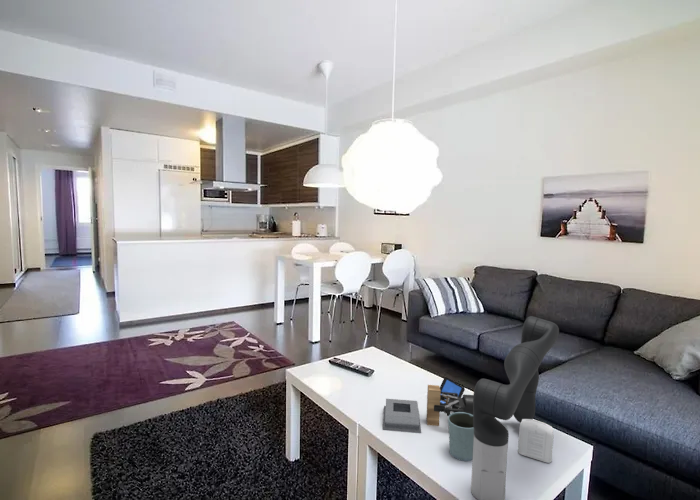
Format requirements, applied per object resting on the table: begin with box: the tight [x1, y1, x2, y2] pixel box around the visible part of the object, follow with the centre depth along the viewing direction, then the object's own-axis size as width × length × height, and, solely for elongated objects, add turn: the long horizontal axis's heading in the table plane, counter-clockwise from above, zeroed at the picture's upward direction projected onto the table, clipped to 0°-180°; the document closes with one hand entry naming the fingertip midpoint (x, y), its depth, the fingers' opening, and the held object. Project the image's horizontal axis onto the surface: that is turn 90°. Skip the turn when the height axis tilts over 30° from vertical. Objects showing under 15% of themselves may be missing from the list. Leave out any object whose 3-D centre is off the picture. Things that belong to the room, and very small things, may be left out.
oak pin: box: [425, 384, 441, 427], centre depth 144 cm, size 4×4×14 cm
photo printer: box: [517, 419, 555, 464], centre depth 125 cm, size 10×4×12 cm, turn 60°
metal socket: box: [382, 398, 422, 434], centre depth 146 cm, size 16×14×5 cm
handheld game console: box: [439, 376, 466, 407], centre depth 163 cm, size 12×11×7 cm
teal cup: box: [447, 412, 474, 462], centre depth 126 cm, size 10×10×12 cm
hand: (432, 402), depth 144 cm, fingers open, 8 cm apart
